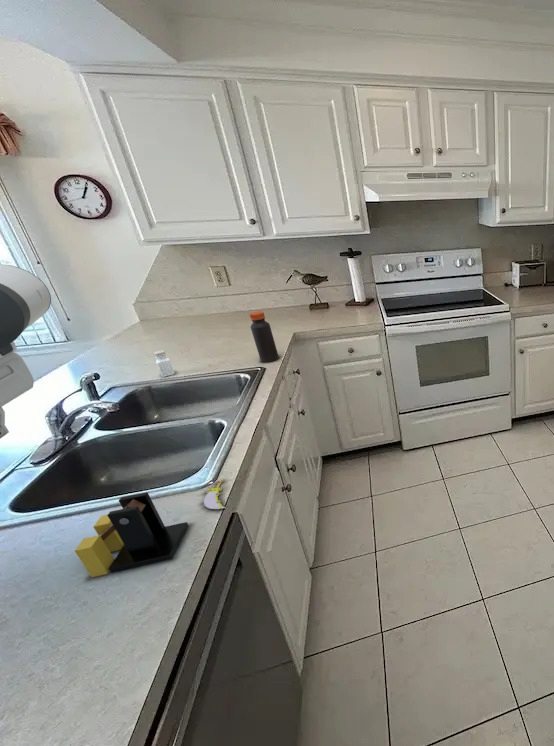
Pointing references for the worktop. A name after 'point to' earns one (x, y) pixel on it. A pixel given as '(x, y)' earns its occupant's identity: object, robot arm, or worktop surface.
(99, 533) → the butter
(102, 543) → the butter
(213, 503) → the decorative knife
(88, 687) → the worktop surface
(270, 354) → the bottle
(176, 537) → the bracket
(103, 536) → the arm
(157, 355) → the pepper shaker
